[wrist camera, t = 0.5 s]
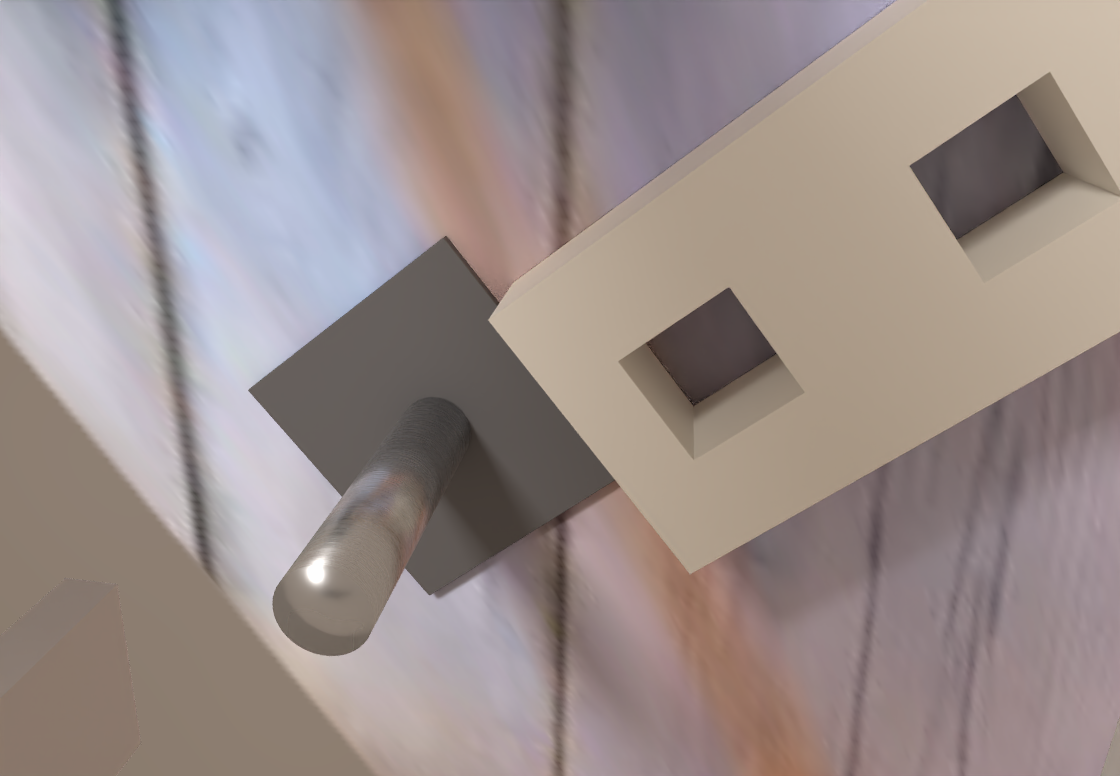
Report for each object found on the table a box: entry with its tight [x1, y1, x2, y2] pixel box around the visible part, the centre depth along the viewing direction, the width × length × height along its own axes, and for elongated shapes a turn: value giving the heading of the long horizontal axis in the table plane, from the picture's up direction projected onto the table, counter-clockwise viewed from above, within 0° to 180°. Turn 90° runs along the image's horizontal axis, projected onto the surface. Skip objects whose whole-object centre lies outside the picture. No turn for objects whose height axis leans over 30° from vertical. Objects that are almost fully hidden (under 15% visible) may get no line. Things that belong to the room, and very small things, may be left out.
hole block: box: [488, 0, 1120, 574], centre depth 32 cm, size 12×21×5 cm, turn 127°
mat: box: [248, 236, 615, 595], centre depth 39 cm, size 12×11×1 cm
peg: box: [273, 397, 471, 656], centre depth 33 cm, size 3×3×13 cm
